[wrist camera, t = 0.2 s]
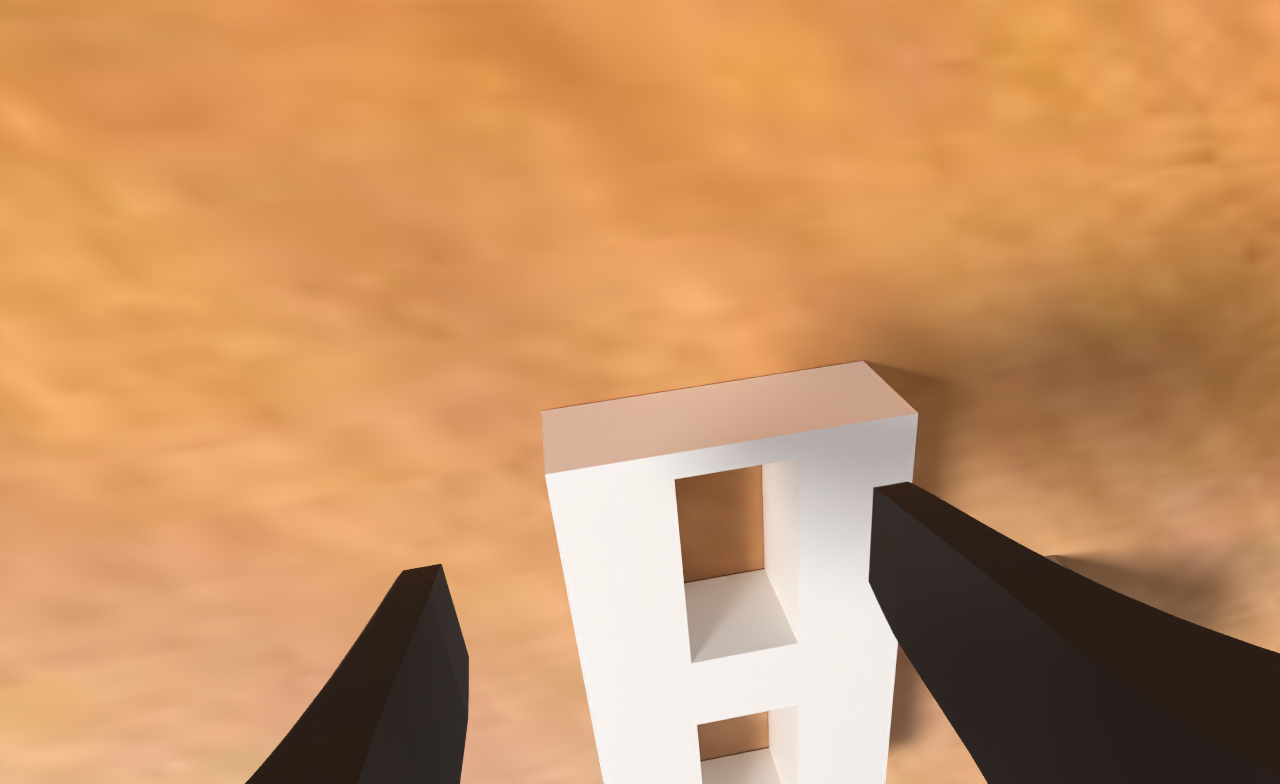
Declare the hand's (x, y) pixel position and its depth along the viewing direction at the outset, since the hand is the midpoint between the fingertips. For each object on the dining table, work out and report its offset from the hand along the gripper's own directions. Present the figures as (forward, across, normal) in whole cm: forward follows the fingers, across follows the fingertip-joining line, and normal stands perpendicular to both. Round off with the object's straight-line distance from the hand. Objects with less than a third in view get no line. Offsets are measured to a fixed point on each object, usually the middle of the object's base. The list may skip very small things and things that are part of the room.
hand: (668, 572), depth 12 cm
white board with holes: (+10, -3, +11) cm, 15 cm away
